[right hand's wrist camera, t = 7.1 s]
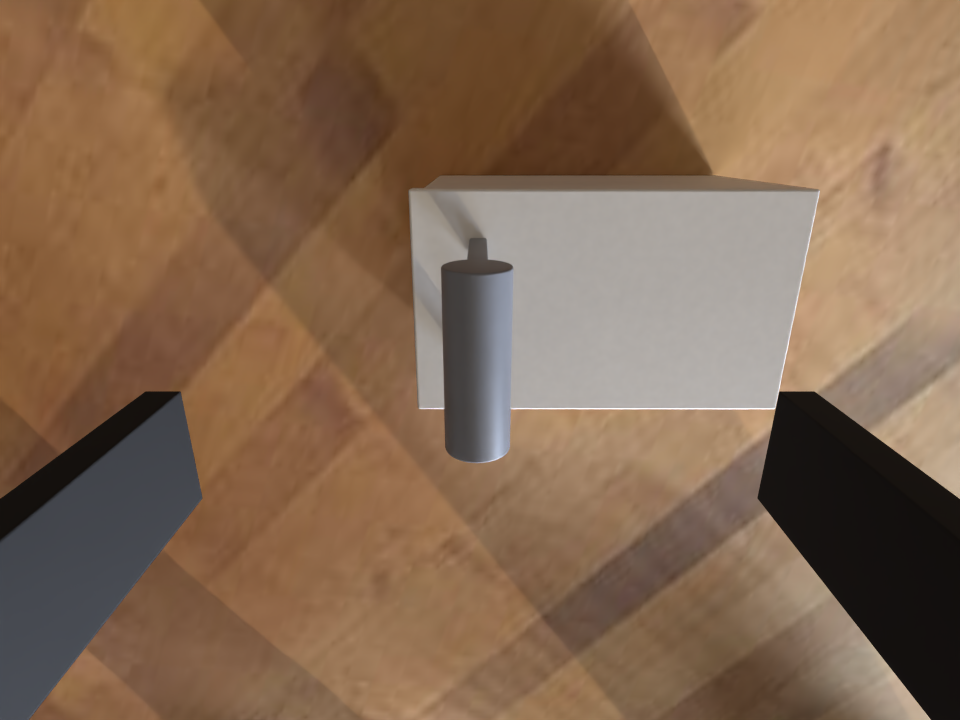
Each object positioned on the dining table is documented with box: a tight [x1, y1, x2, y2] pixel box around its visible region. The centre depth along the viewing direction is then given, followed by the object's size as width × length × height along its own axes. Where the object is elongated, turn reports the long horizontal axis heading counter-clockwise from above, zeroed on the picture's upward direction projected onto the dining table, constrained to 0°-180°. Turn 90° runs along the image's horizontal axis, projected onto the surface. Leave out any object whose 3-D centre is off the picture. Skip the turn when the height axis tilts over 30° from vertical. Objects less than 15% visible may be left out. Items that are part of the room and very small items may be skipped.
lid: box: [409, 188, 820, 463], centre depth 20 cm, size 16×9×8 cm, turn 90°
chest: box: [425, 175, 806, 188], centre depth 29 cm, size 15×9×10 cm, turn 90°
